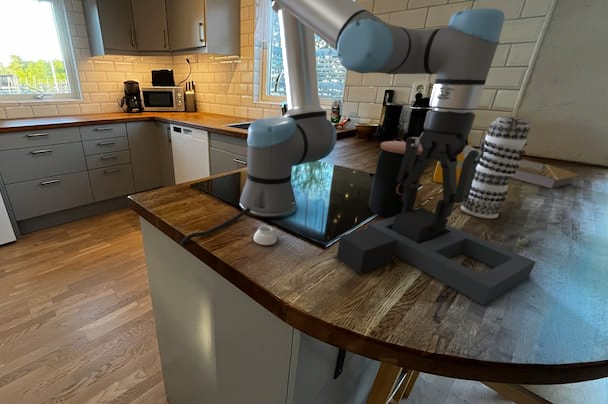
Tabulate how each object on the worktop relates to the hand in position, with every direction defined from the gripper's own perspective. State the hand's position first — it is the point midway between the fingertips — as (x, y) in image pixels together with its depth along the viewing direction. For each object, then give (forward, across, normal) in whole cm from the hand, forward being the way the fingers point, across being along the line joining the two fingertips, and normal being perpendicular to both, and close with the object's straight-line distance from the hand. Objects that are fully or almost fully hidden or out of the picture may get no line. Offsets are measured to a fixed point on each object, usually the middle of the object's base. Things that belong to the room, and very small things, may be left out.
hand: (419, 222), depth 63 cm
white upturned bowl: (+5, -16, -29) cm, 33 cm away
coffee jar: (+5, -14, +9) cm, 17 cm away
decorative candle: (+5, -3, +32) cm, 33 cm away
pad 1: (+5, -1, -15) cm, 16 cm away
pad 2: (+4, 0, 0) cm, 4 cm away
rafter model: (+5, -18, +84) cm, 86 cm away
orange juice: (+5, -23, +51) cm, 56 cm away
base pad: (+5, +5, 0) cm, 7 cm away
